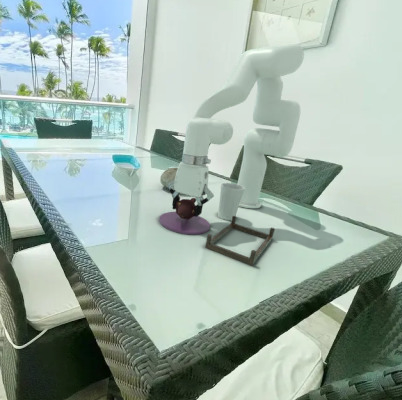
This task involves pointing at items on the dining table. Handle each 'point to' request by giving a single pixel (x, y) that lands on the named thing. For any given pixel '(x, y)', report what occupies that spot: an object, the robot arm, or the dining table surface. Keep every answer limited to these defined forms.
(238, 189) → the cup
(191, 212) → the dark red rounded piece
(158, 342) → the dining table surface
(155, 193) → the dining table surface
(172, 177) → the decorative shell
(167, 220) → the lid
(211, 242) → the frame
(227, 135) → the robot arm
